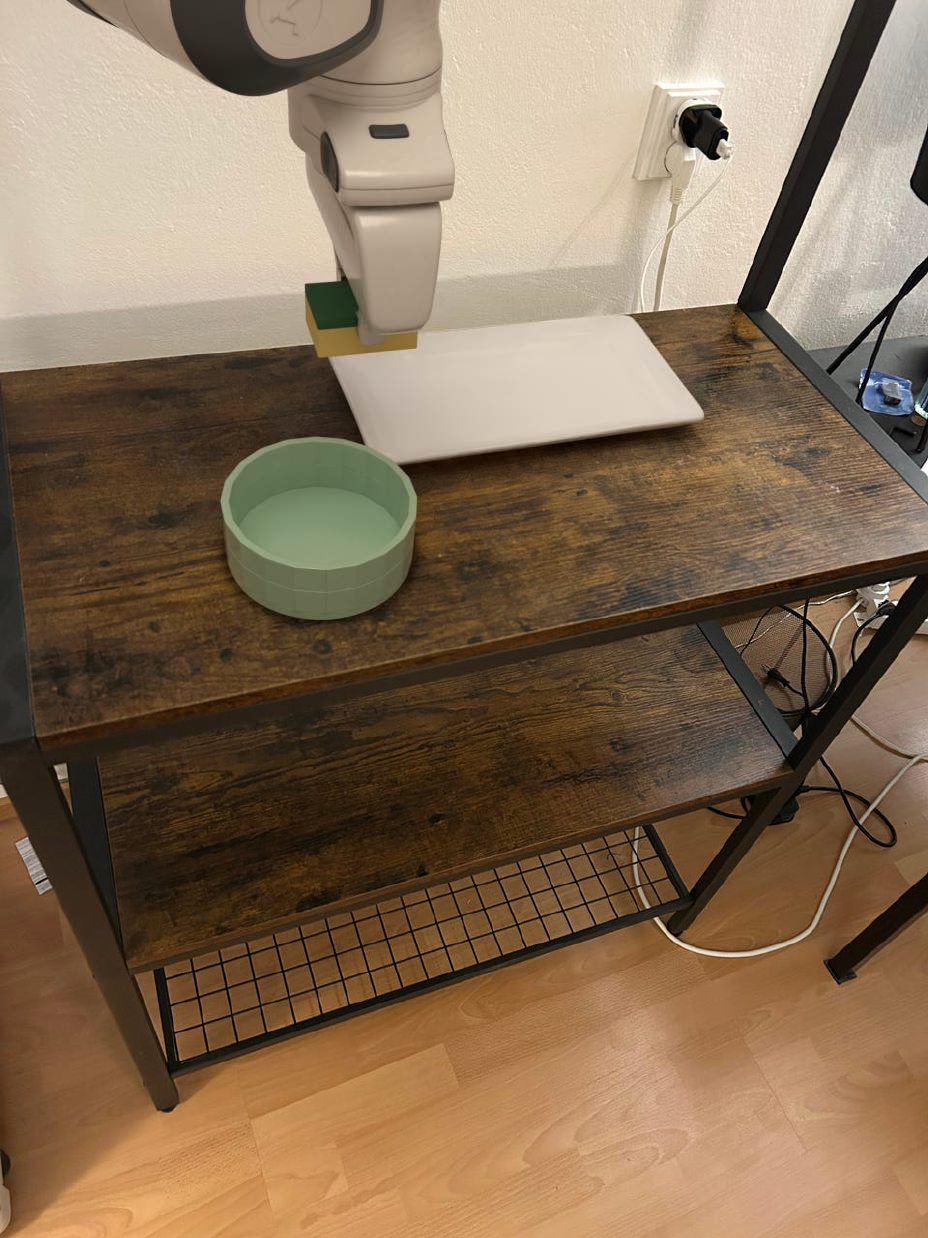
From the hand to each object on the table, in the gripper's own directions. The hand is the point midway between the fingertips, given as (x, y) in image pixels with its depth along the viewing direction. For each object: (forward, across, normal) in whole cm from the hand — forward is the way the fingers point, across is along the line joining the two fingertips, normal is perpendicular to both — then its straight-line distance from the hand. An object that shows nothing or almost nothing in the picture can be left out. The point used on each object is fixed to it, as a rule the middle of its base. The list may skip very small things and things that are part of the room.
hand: (360, 315), depth 67 cm
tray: (+17, -9, +17) cm, 26 cm away
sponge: (+2, 0, 0) cm, 2 cm away
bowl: (+17, +6, -4) cm, 18 cm away
